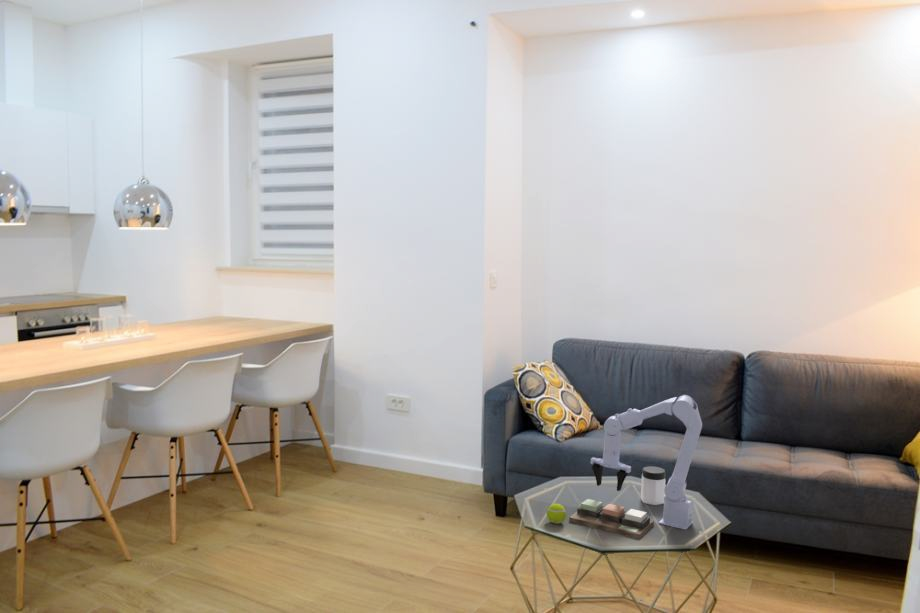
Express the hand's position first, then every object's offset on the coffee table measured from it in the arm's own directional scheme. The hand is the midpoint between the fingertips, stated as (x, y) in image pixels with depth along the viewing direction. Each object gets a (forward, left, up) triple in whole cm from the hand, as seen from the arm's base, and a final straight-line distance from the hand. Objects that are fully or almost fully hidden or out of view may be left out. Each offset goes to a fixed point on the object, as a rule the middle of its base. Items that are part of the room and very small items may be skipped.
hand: (608, 487), depth 275 cm
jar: (-9, -20, -9) cm, 24 cm away
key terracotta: (-5, +8, -6) cm, 11 cm away
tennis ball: (+11, +20, -9) cm, 24 cm away
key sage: (+3, +8, -6) cm, 10 cm away
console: (-5, +9, -9) cm, 14 cm away
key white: (-13, +8, -6) cm, 16 cm away
